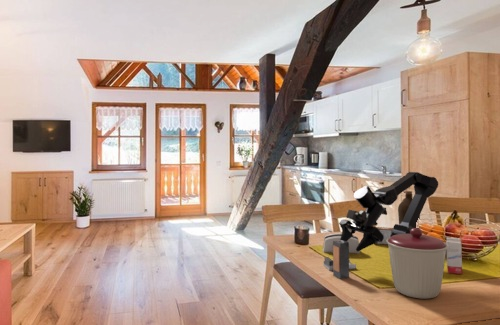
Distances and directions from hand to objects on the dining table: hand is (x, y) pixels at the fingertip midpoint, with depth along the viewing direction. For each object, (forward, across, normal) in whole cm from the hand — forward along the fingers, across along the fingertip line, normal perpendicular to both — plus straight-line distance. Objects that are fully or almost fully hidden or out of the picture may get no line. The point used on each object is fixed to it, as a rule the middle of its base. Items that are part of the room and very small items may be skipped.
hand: (348, 247), depth 127 cm
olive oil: (-40, -29, +54) cm, 73 cm away
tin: (-25, -26, +39) cm, 53 cm away
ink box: (-20, +14, +35) cm, 43 cm away
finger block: (+10, 0, +5) cm, 11 cm away
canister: (+1, +22, +14) cm, 26 cm away
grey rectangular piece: (+5, -9, +10) cm, 14 cm away
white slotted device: (-5, -25, +20) cm, 33 cm away
